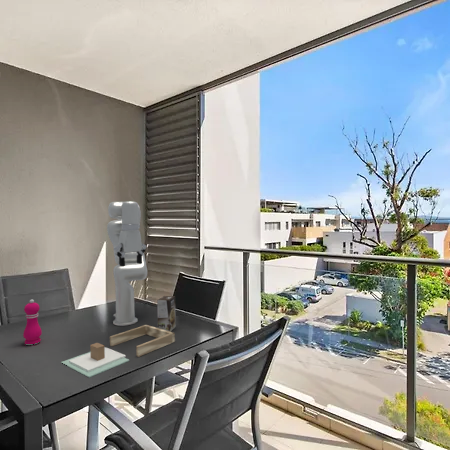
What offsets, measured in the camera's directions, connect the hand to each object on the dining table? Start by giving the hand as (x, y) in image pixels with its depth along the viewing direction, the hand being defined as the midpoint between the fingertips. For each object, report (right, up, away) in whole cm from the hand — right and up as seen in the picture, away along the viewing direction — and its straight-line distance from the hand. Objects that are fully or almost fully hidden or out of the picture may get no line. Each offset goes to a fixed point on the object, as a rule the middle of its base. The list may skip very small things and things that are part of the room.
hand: (131, 264), depth 156 cm
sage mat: (-7, -35, -25) cm, 44 cm away
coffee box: (+15, -34, +11) cm, 39 cm away
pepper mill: (-43, -35, -5) cm, 56 cm away
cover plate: (-6, -35, -24) cm, 43 cm away
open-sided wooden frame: (+7, -34, -7) cm, 36 cm away
